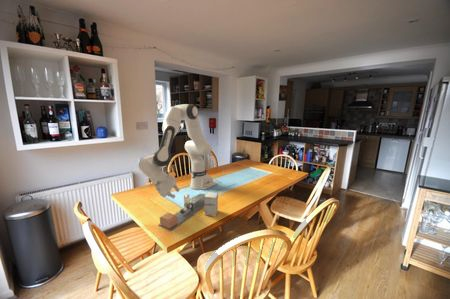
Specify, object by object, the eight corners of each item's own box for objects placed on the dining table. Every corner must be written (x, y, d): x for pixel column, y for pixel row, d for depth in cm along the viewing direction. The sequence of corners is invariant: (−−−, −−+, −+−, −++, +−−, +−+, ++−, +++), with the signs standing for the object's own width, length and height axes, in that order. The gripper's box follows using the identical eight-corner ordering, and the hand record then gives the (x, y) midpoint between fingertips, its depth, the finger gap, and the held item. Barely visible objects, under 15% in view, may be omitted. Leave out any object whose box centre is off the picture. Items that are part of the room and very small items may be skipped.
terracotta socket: (167, 219, 116) (167, 211, 115) (177, 223, 112) (177, 215, 111) (160, 224, 112) (159, 216, 111) (170, 228, 108) (170, 220, 107)
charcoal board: (198, 199, 143) (198, 199, 143) (209, 203, 138) (209, 202, 138) (158, 225, 112) (158, 224, 112) (171, 231, 107) (171, 230, 107)
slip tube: (200, 199, 140) (200, 186, 138) (204, 200, 138) (204, 187, 136) (179, 213, 122) (179, 198, 120) (183, 214, 120) (183, 199, 118)
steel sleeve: (200, 200, 141) (200, 193, 140) (206, 202, 139) (206, 195, 137) (187, 208, 129) (186, 201, 128) (193, 210, 127) (193, 203, 126)
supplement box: (204, 215, 123) (203, 196, 120) (207, 209, 130) (206, 191, 127) (215, 216, 122) (215, 197, 119) (218, 210, 129) (218, 192, 126)
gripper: (157, 181, 111) (175, 198, 112) (168, 170, 131) (184, 184, 132) (150, 189, 112) (167, 205, 114) (162, 176, 132) (177, 190, 133)
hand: (176, 194), depth 123 cm, fingers open, 8 cm apart
